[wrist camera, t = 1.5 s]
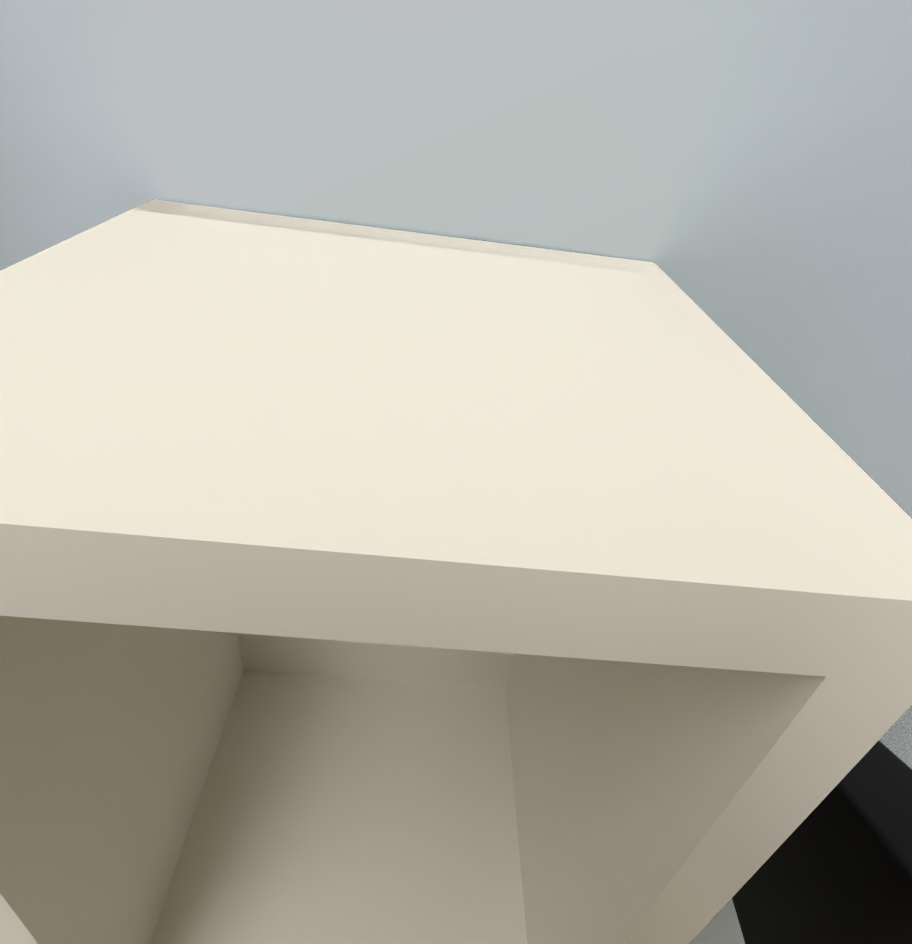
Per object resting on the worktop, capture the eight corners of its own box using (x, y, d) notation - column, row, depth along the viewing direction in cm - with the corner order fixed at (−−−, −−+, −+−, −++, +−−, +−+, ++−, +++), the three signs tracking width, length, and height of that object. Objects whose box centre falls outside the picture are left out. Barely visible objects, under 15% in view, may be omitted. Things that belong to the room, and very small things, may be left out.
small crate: (654, 262, 8) (1002, 608, 3) (526, 683, 13) (572, 1069, 8) (152, 199, 7) (-457, 486, 2) (224, 662, 12) (75, 1059, 7)
